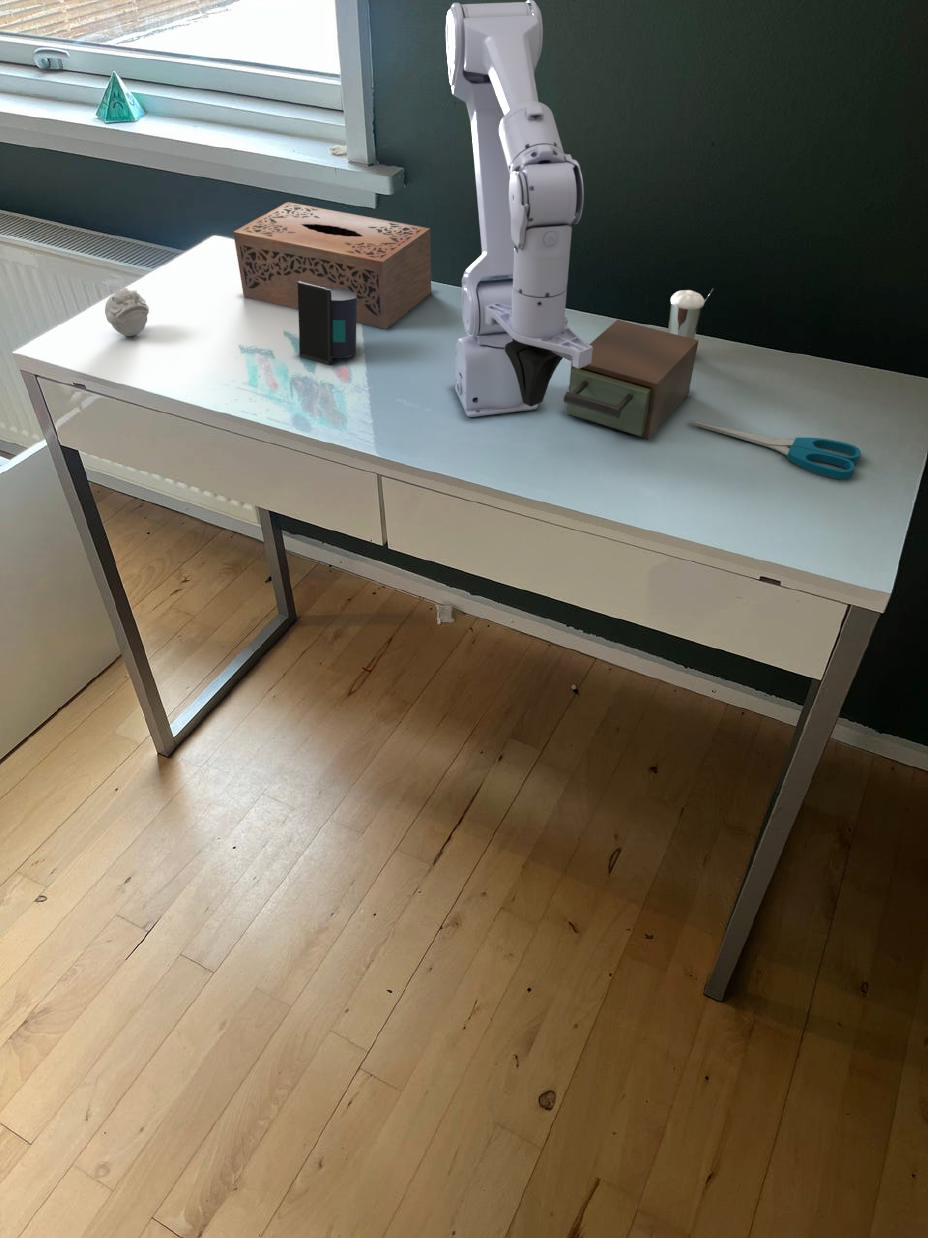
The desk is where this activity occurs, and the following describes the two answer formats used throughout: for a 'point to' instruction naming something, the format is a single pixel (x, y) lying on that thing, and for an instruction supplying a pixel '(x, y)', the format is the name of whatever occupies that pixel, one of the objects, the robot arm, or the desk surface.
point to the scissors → (804, 451)
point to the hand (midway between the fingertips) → (532, 401)
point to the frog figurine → (127, 312)
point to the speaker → (326, 323)
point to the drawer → (608, 401)
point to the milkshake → (685, 313)
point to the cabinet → (646, 365)
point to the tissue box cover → (335, 260)
